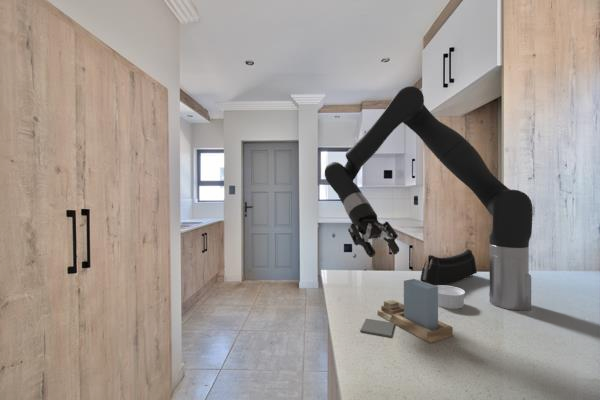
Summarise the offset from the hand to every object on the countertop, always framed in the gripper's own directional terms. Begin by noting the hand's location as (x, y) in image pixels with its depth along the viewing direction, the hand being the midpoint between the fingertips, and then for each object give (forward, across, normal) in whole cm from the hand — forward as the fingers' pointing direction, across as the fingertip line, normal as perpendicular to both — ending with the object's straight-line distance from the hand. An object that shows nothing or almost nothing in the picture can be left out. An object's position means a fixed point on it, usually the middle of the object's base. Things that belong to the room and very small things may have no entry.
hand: (385, 254), depth 80 cm
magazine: (+5, +40, +18) cm, 44 cm away
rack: (+18, 0, +5) cm, 18 cm away
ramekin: (+14, +20, +8) cm, 26 cm away
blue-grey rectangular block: (+20, 0, +3) cm, 20 cm away
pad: (+16, -9, +6) cm, 19 cm away
